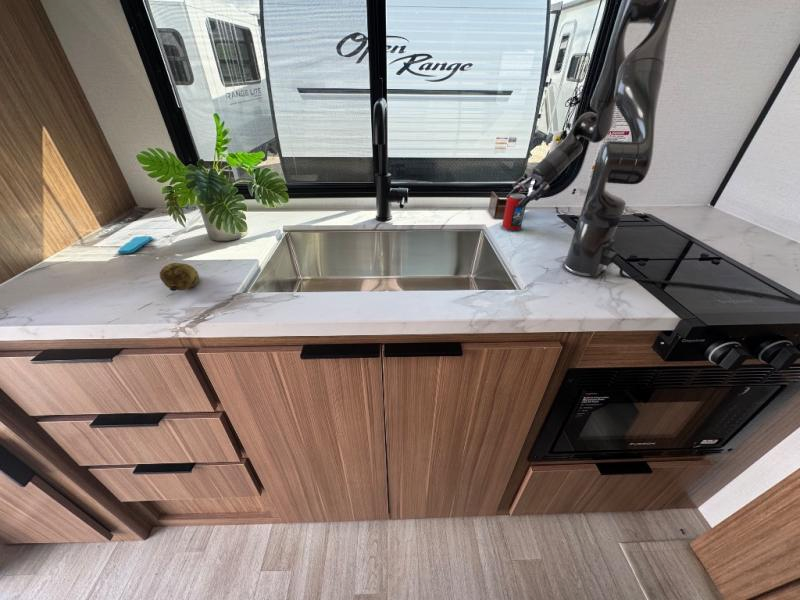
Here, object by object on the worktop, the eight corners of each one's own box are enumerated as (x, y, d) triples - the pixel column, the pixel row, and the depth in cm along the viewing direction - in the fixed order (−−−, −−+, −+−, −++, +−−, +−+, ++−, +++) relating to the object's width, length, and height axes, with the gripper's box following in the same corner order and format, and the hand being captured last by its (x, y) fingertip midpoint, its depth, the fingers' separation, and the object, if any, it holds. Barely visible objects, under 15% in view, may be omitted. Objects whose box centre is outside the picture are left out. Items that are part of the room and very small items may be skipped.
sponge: (110, 251, 100) (129, 249, 100) (134, 236, 110) (151, 234, 109) (113, 256, 100) (131, 253, 100) (137, 240, 110) (153, 238, 110)
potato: (212, 274, 90) (202, 248, 85) (192, 300, 79) (180, 271, 75) (181, 276, 89) (169, 249, 85) (156, 302, 78) (142, 273, 74)
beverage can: (516, 233, 115) (524, 199, 108) (498, 228, 119) (504, 196, 112) (523, 227, 120) (530, 195, 113) (506, 223, 123) (512, 191, 116)
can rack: (511, 210, 136) (515, 191, 131) (518, 218, 128) (522, 198, 123) (488, 210, 136) (491, 191, 131) (494, 218, 128) (497, 198, 123)
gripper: (534, 154, 113) (498, 190, 117) (559, 162, 101) (518, 201, 106) (544, 170, 117) (509, 203, 121) (569, 179, 105) (529, 216, 110)
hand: (513, 202), depth 113 cm, fingers open, 8 cm apart
